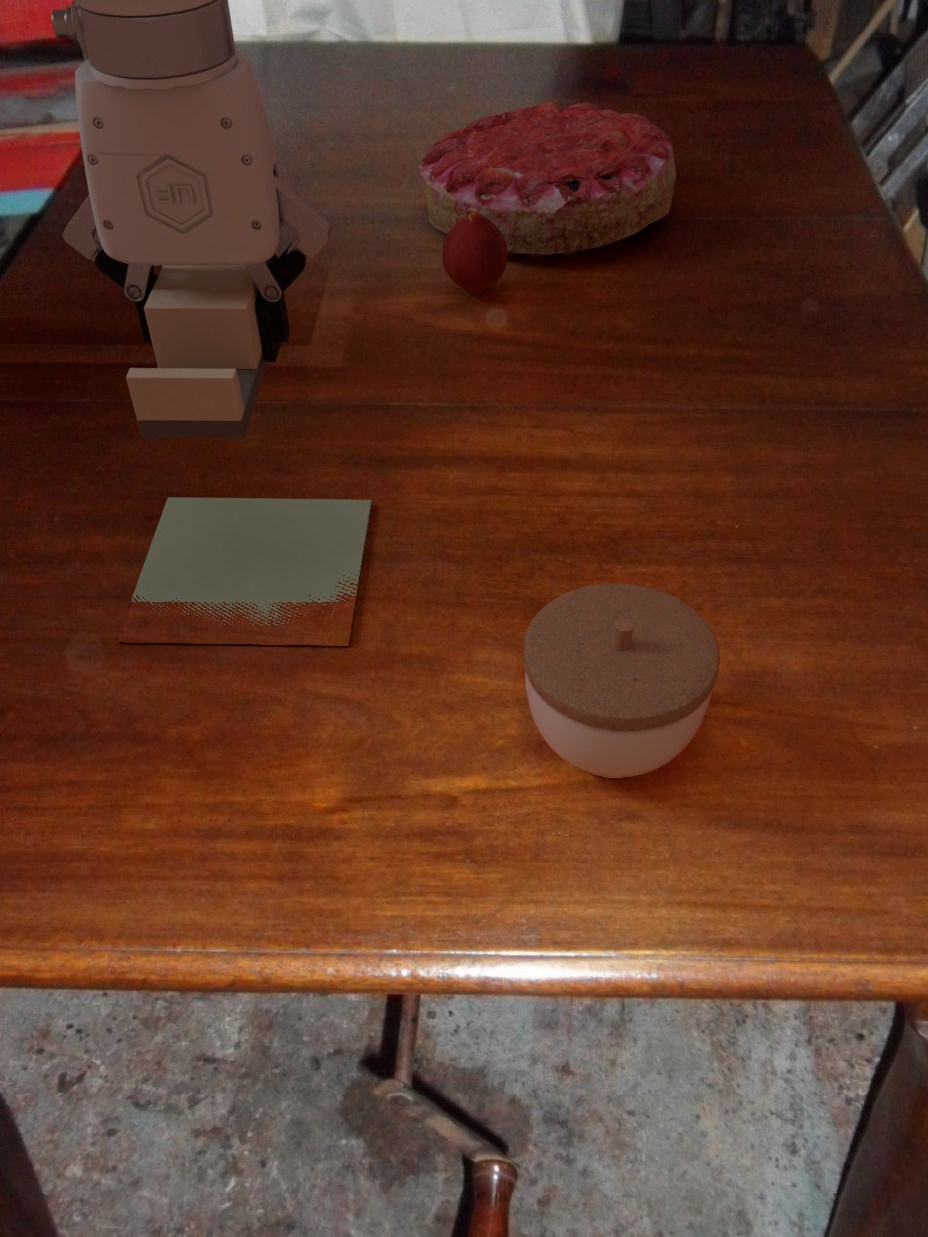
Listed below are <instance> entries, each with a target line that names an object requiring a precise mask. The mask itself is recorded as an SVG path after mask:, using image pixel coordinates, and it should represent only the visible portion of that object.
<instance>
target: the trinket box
mask: <svg viewBox="0 0 928 1237" xmlns="http://www.w3.org/2000/svg"><path fill="white" fill-rule="evenodd" d="M522 655H523V656H522V657H523V664H524V678H525V680H524V681H525V690H526V697H527V703H528V707H529V710H530V714H531V716H532V720H533V722H534V725H535V727H536V729H537V731H538V732H539V734H540V735H541V737H542V739H543V741H544V742H545V744H547V746H548V747H549V748H550V749H551V750H552V751H553V752H554V753H555V754H556V755H557V756H558V757H559V758H561V759H562V760H563V761H564V762H566V763H567V764H569V765H571V766H573V767H574V768H576V769H579V770H580V771H583V772H584V771H585V773H587V772H589V773H592V774H595V775H599V776H605V777H628V778H632V777H636V776H641V775H645V774H648V773H651V772H654V771H656V770H657V769H660V768H661V767H663V766H665V765H667V764H668V763H670V762H671V761H673V760H674V759H676V758H677V757H678V756H679V755H680V754H681V752H683V751H684V749H686V747H687V746H688V745H689V744H690V743H691V742H692V740H693V739H694V737H695V736H696V734H697V732H698V730H699V728H700V727H701V725H702V723H703V721H704V718H705V715H706V713H707V710H708V708H709V705H710V701H711V699H712V698H711V697H712V694H713V690H714V687H715V684H716V682H717V680H718V676H719V670H720V664H721V652H720V645H719V643H718V639H717V637H716V635H715V633H714V631H713V629H712V628H711V625H709V623H708V622H707V621H706V620H705V618H704V617H703V616H702V615H701V614H700V613H698V611H696V609H694V608H693V607H692V606H690V605H689V604H687V603H685V601H682V600H681V599H679V598H677V597H675V596H673V595H671V594H670V593H667V592H665V591H662V590H658V589H656V588H652V587H649V586H645V585H641V584H639V585H638V584H631V583H620V582H618V583H617V582H612V583H611V582H610V583H598V584H591V585H586V586H583V587H579V588H575V589H573V590H570V591H567V592H565V593H564V594H561V595H558V597H556V598H554V599H552V600H551V601H550V602H548V603H546V605H545V606H543V608H541V609H540V610H539V611H538V613H537V614H535V616H534V617H533V618H532V620H531V621H530V623H529V625H528V627H527V629H526V632H525V635H524V640H523V654H522ZM589 773H588V774H589Z"/></svg>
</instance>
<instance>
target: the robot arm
mask: <svg viewBox="0 0 928 1237" xmlns="http://www.w3.org/2000/svg"><path fill="white" fill-rule="evenodd" d="M51 27H52V29H53V33H54V35H55V37H56V38H57V39H58V40H59V39H61V40H62V39H63V40H64V39H67V40H70V41H71V42H74V43H78V45H79V47H80V49H81V52H82V56H83V60H84V61H83V62H82V63H81V64H80V65H78V67H77V68H76V69H75V71H74V83H75V84H74V85H75V87H74V88H75V102H76V112H77V122H78V129H79V130H78V132H79V138H80V146H81V152H82V158H83V165H84V171H85V172H84V173H85V177H86V184H87V189H88V196H87V197H86V198H85V199H84V201H83V202H82V203H81V205H80V206H79V208H78V209H77V211H76V212H75V213H74V215H73V216H72V218H71V219H70V220H69V221H68V223H67V225H66V227H65V228H64V230H63V232H62V238H63V240H64V242H65V243H66V244H67V245H69V246H70V247H71V248H73V249H74V250H75V251H76V252H78V253H79V254H81V255H82V256H83V257H85V258H86V259H87V260H88V261H92V262H93V263H94V265H95V267H96V269H98V271H100V272H101V273H102V274H104V275H105V276H106V277H107V278H109V279H110V280H112V281H113V282H114V283H115V284H116V285H118V286H119V287H121V288H122V289H123V292H124V295H125V296H126V298H127V299H128V300H129V301H132V302H134V305H135V308H136V312H137V316H138V321H139V325H140V328H141V333H142V337H143V341H144V342H145V343H151V347H152V351H153V354H154V358H155V361H156V362H157V360H156V356H155V352H154V348H153V344H152V339H151V335H150V331H149V327H148V323H147V319H146V315H145V310H144V306H145V304H146V302H147V300H148V298H149V295H150V293H151V291H152V289H153V287H154V285H155V282H156V280H157V278H158V276H159V275H157V274H156V269H157V266H163V265H164V266H239V265H244V266H245V268H246V269H247V271H248V273H249V274H250V276H251V278H252V279H253V281H254V283H255V285H256V286H257V288H258V297H257V300H256V303H255V310H256V316H257V322H258V328H259V334H260V340H261V346H262V353H263V358H264V360H266V361H267V363H276V362H277V359H278V355H279V352H280V348H281V345H282V343H283V344H285V343H287V344H288V342H289V338H290V322H289V317H288V310H287V302H286V295H285V291H286V290H287V289H288V288H289V287H290V286H291V285H292V284H293V283H294V282H295V280H296V279H297V278H298V277H299V276H300V275H301V274H302V273H303V272H304V270H305V268H306V266H307V265H309V263H310V262H312V261H313V260H314V259H315V258H316V257H317V255H318V254H320V252H321V251H322V250H323V249H324V248H325V247H326V246H327V244H328V243H329V240H330V238H331V234H332V227H331V225H330V223H329V222H328V221H327V220H326V219H325V218H324V217H322V215H320V214H319V213H318V212H317V211H316V210H314V208H313V207H311V206H310V205H309V204H308V203H307V202H306V201H305V200H304V199H303V198H301V197H300V196H299V194H297V193H296V192H295V191H294V190H293V189H291V187H289V186H288V185H287V184H286V183H285V182H284V181H283V180H282V177H281V172H280V167H279V163H278V158H277V153H276V149H275V145H274V140H273V136H272V132H271V128H270V123H269V120H268V115H267V112H266V108H265V105H264V101H263V98H262V94H261V91H260V88H259V84H258V81H257V78H256V75H255V72H254V68H253V66H252V64H251V62H250V59H249V56H248V55H247V54H246V53H245V52H244V51H242V50H236V45H235V44H236V43H235V37H234V30H233V24H232V19H231V11H230V4H229V0H73V1H72V2H71V3H70V5H67V6H66V8H54V9H52V11H51ZM284 224H286V225H288V226H289V227H290V228H291V229H292V230H293V231H295V233H297V235H298V236H297V238H296V239H295V240H294V241H293V242H291V243H290V244H289V245H288V247H286V249H285V250H283V252H282V253H281V254H280V252H279V251H278V250H277V249H278V247H279V244H280V234H281V231H280V229H281V228H282V227H283V226H284Z"/></svg>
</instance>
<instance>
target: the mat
mask: <svg viewBox="0 0 928 1237" xmlns="http://www.w3.org/2000/svg"><path fill="white" fill-rule="evenodd" d="M371 505H373V502H372V499H347V498H346V499H343V498H339V499H338V498H265V497H264V498H262V497H260V498H257V497H256V498H255V497H180V496H179V497H178V496H177V497H176V496H173V497H172V496H170V497H169V496H168V497H167V498H166V502H165V504H164V507H163V510H162V511H161V512H162V513H161V515H160V518H159V521H158V524H157V527H156V529H155V532H154V535H153V538H152V541H151V544H150V546H149V548H148V549H149V550H148V552H147V555H146V557H145V561H144V562H143V566H142V568H141V572H140V574H139V577H138V579H137V582H136V585H135V589H134V591H133V593H132V597H131V599H132V601H133V602H136V601H134V599H133V597H134V598H135V599H136V600H137V601H138V602H142V601H143V602H147V601H149V602H150V603H151V604H152V602H160V603H161V602H169V601H170V602H182V603H183V602H188V603H189V604H191V605H192V603H190V602H194V603H195V604H197V605H198V606H200V607H201V608H203V606H201V604H203V605H204V606H206V607H207V608H209V609H211V610H212V609H213V608H210V606H212V607H214V608H215V609H217V610H219V608H216V607H217V606H218V607H220V608H222V609H223V610H225V611H227V612H229V610H226V608H228V609H230V610H232V611H234V612H235V611H236V610H233V609H232V608H230V607H233V608H235V609H236V608H237V607H234V606H235V605H236V606H238V607H240V608H242V609H244V607H241V605H243V606H245V607H247V608H249V609H251V610H253V611H255V612H257V613H259V614H261V615H263V616H265V617H267V618H269V619H272V617H268V616H269V615H271V616H273V617H275V618H277V619H280V620H281V618H278V617H277V615H279V616H281V617H282V615H280V614H278V613H277V612H274V611H271V609H273V610H275V611H278V612H280V613H282V614H284V613H283V612H281V611H279V610H278V609H276V607H277V608H279V609H281V610H284V609H282V608H280V606H277V604H279V605H281V606H283V607H285V606H286V605H282V603H285V604H287V602H291V603H293V604H295V605H298V604H296V603H297V602H299V603H301V602H309V603H311V602H313V601H315V602H318V603H321V602H334V601H336V602H339V601H340V600H336V599H335V598H338V599H341V597H338V596H336V595H337V594H338V595H341V596H343V594H344V593H347V594H349V595H352V596H356V594H357V593H356V592H357V590H353V588H356V589H357V587H358V586H356V585H350V583H354V584H358V582H359V576H360V571H361V572H362V569H361V565H362V566H363V563H362V559H363V560H364V556H363V553H364V554H365V550H364V546H365V547H366V544H365V541H366V542H367V537H366V535H367V536H368V531H367V530H369V525H368V523H369V524H370V518H369V516H370V517H371V512H370V511H372V506H371ZM351 573H352V574H351ZM343 575H345V576H343ZM356 575H357V576H356ZM348 577H350V578H348ZM360 577H361V576H360ZM343 579H344V580H343ZM353 579H355V580H353ZM345 581H349V582H345ZM338 582H340V583H342V584H339V583H338ZM359 583H360V582H359ZM343 584H345V585H347V586H343ZM336 586H339V587H336ZM348 586H350V587H353V588H348ZM355 586H356V587H355ZM341 587H342V588H344V589H347V590H350V591H346V590H343V589H341ZM335 589H336V590H335ZM339 591H341V592H344V593H339ZM351 591H352V592H355V593H356V594H351ZM136 595H137V596H138V597H139V599H137V598H138V597H136ZM309 595H311V596H309ZM331 596H333V597H331ZM143 597H144V598H143ZM314 597H315V598H314ZM324 597H325V598H324ZM344 597H347V598H348V596H344ZM176 598H177V599H176ZM140 599H141V600H140ZM145 599H146V600H145ZM310 599H311V600H310ZM318 599H320V600H318ZM329 599H330V600H329ZM350 599H354V598H350ZM172 600H174V601H172ZM178 600H179V601H178ZM312 600H313V601H312ZM331 600H333V601H331ZM341 600H344V599H341ZM132 601H131V600H130V602H132ZM344 601H346V600H344ZM196 602H198V603H196ZM199 602H200V603H201V604H199ZM205 602H206V603H207V604H209V605H210V606H207V604H204V603H205ZM211 602H212V603H213V604H211ZM222 602H225V603H226V604H228V605H230V606H228V605H224V604H225V603H222ZM230 602H231V603H230ZM235 602H238V603H240V604H241V605H238V603H235ZM242 602H245V603H242ZM250 602H252V603H250ZM258 602H259V603H258ZM266 602H267V603H266ZM278 602H282V603H278ZM218 603H220V604H221V605H223V606H225V607H226V608H223V607H222V606H221V605H220V604H218ZM232 603H233V604H235V605H232ZM246 603H247V604H248V605H245V604H246ZM273 603H277V604H273ZM156 604H157V603H156ZM162 604H163V603H162ZM167 604H168V603H167ZM172 604H174V603H172ZM178 604H179V605H180V603H178ZM184 604H185V605H186V603H184ZM189 604H187V606H188V607H189V608H191V607H190V606H189ZM214 604H215V605H217V606H214ZM253 604H256V605H253ZM269 604H271V605H269ZM302 604H304V605H305V603H302ZM331 604H332V603H331ZM147 605H148V604H147ZM152 605H154V604H152ZM249 605H250V606H252V607H254V608H255V609H258V610H255V609H252V607H249ZM257 605H258V607H256V606H257ZM272 605H273V606H275V607H272ZM287 605H289V606H290V605H291V604H287ZM313 605H315V604H313ZM323 605H326V604H323ZM159 606H160V604H159ZM164 606H165V605H164ZM175 606H176V605H175ZM181 606H182V605H181ZM192 606H194V607H195V608H197V607H198V606H195V605H192ZM298 606H300V605H298ZM150 607H151V606H150ZM155 607H156V606H155ZM160 607H162V606H160ZM183 607H184V608H185V606H183ZM260 607H261V608H260ZM268 607H269V608H268ZM291 607H295V606H291ZM329 607H330V606H329ZM167 608H168V607H167ZM178 608H179V607H178ZM270 608H271V609H270ZM285 608H287V609H289V608H290V607H285ZM302 608H303V607H302ZM152 609H153V608H152ZM158 609H159V608H158ZM163 609H164V608H163ZM168 609H169V608H168ZM180 609H181V608H180ZM185 609H187V608H185ZM191 609H192V610H193V609H194V608H191ZM197 609H198V610H200V608H197ZM203 609H204V610H205V609H206V608H203ZM263 609H265V610H263ZM296 609H299V608H296ZM334 609H335V608H334ZM154 610H155V609H154ZM237 610H239V611H240V612H242V613H244V614H246V612H243V610H240V609H237ZM244 610H245V611H247V609H244ZM251 610H249V611H247V612H249V613H251V614H253V615H255V616H257V617H260V618H262V619H264V618H265V617H261V615H258V614H254V612H251ZM259 610H260V611H262V612H264V613H262V612H259ZM267 610H268V611H270V612H272V613H274V614H276V615H273V614H269V613H270V612H268V611H267ZM290 610H292V609H290ZM317 610H318V609H317ZM160 611H161V610H160ZM166 611H167V610H166ZM177 611H178V610H177ZM182 611H184V610H182ZM188 611H190V610H188ZM194 611H196V610H194ZM200 611H202V610H200ZM206 611H208V610H206ZM212 611H214V612H215V610H212ZM212 611H208V612H209V613H211V612H212ZM219 611H220V612H222V610H219ZM284 611H286V610H284ZM292 611H293V610H292ZM301 611H302V610H301ZM151 612H152V611H151ZM184 612H185V613H186V611H184ZM202 612H203V613H204V612H205V611H202ZM286 612H288V611H286ZM294 612H298V611H294ZM322 612H323V611H322ZM333 612H334V611H333ZM191 613H192V612H191ZM197 613H199V611H198V612H197ZM216 613H217V614H219V615H221V613H218V611H217V612H216ZM222 613H224V614H226V615H227V616H229V617H231V615H228V613H225V612H222ZM229 613H230V614H232V612H229ZM235 613H237V614H238V613H239V612H235ZM288 613H290V612H288ZM159 614H160V613H159ZM181 614H183V613H181ZM187 614H188V615H189V613H187ZM199 614H200V615H201V613H199ZM205 614H206V615H207V613H205ZM211 614H213V615H214V613H211ZM266 614H268V615H266ZM290 614H292V613H290ZM299 614H301V613H299ZM194 615H195V613H194ZM232 615H234V616H235V614H232ZM239 615H242V614H239ZM246 615H248V616H249V615H250V614H246ZM253 615H250V617H252V618H254V619H256V618H257V617H253ZM284 615H287V614H284ZM293 615H295V614H293ZM331 615H333V614H331ZM184 616H185V615H184ZM196 616H198V615H196ZM202 616H203V615H202ZM208 616H210V615H208ZM214 616H216V617H217V615H214ZM221 616H223V617H224V615H221ZM287 616H289V617H291V615H287ZM295 616H296V615H295ZM304 616H305V615H304ZM236 617H237V616H236ZM243 617H245V616H243ZM298 617H299V616H298ZM187 618H188V617H187ZM193 618H194V617H193ZM199 618H200V617H199ZM205 618H206V617H205ZM212 618H213V617H212ZM218 618H220V617H218ZM224 618H226V619H227V617H224ZM231 618H233V617H231ZM245 618H247V619H248V618H249V617H245ZM283 618H286V617H283ZM330 618H331V617H330ZM213 619H214V618H213ZM233 619H234V618H233ZM240 619H241V618H240ZM294 619H295V618H294ZM215 620H216V619H215ZM222 620H223V619H222ZM228 620H230V619H228ZM235 620H236V619H235ZM242 620H244V619H242ZM249 620H251V621H252V619H249ZM256 620H258V621H260V619H256ZM264 620H266V621H268V619H264ZM272 620H274V621H276V619H272ZM288 620H290V619H288ZM204 621H205V620H204ZM211 621H212V620H211ZM217 621H219V620H217ZM223 621H225V622H226V620H223ZM282 621H285V620H282ZM232 622H233V621H232ZM239 622H240V621H239ZM246 622H247V621H246ZM253 622H255V621H253ZM261 622H263V621H261ZM268 622H271V621H268ZM276 622H279V623H280V621H276ZM293 622H294V621H293ZM214 623H215V622H214ZM221 623H222V622H221ZM227 623H229V622H227ZM255 623H257V622H255ZM263 623H265V624H267V622H263ZM287 623H289V622H287ZM250 624H251V623H250ZM257 624H259V623H257ZM273 624H275V622H274V623H273ZM281 624H284V623H281ZM224 625H225V624H224ZM253 625H254V624H253ZM260 625H263V624H260ZM267 625H270V624H267ZM275 625H278V624H275ZM278 626H279V625H278Z"/></svg>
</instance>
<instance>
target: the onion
mask: <svg viewBox="0 0 928 1237" xmlns="http://www.w3.org/2000/svg"><path fill="white" fill-rule="evenodd" d="M465 213H466V214H467V215H466V217H465V218H463V219H461V220H460V221H458V222H457V223H456V224H455V225H454V226H453V227H452V229H451V230H450V231H449V232H448V234H446V236H445V238H444V241H443V244H442V255H441V256H442V257H441V259H442V266H443V269H444V270H445V272H446V274H447V275H448V277H449V278H450V279H451V281H452V282H453V283H455V284H456V285H457V286H459V287H461V288H462V289H464V290H465V291H466V292H467V293H468V294H469V295H471V296H478V295H481V294H482V293H483V292H486V291H487V290H489V289H491V288H492V287H493V286H494V285H495V284H496V283H497V282H498V281H499V280H501V278H502V277H503V275H504V272H505V271H506V267H507V261H508V256H507V255H508V251H507V244H506V241H505V238H504V236H503V235H502V233H501V232H500V230H499V229H498V228H497V227H496V226H495V224H494V223H493V222H492V221H491V220H489V219H488V218H486V217H485V216H483V215H482V214H481V213H480V212H479V211H478V210H477V209H476V208H469V209H467V210H466V211H465Z"/></svg>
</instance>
